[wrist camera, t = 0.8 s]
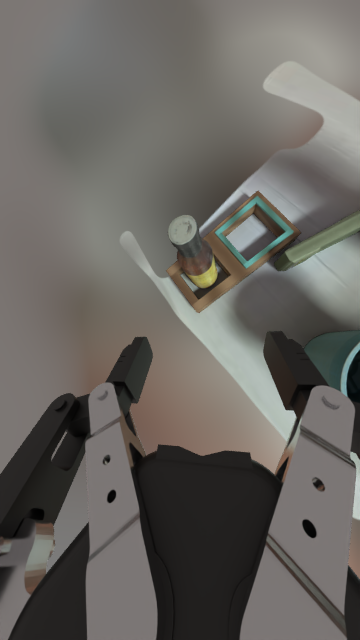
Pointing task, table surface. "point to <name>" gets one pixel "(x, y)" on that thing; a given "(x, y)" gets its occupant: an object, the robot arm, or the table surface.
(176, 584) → the robot arm
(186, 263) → the sauce bottle
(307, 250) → the grey-green long slab
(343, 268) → the table surface
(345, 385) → the flower pot
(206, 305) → the brown double window frame
